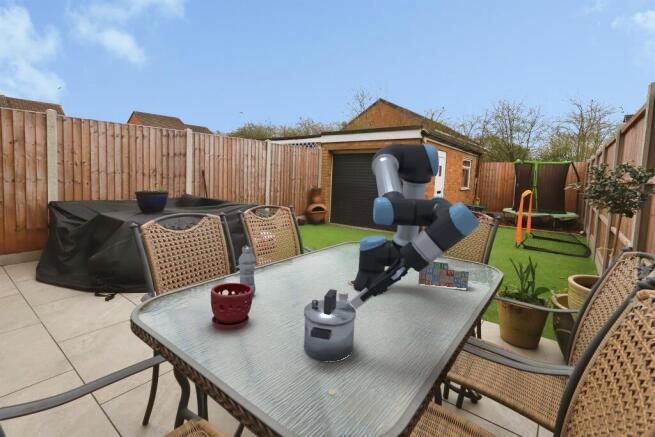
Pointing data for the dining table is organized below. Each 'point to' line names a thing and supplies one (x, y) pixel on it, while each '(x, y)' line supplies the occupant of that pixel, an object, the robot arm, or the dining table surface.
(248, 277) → the plastic bottle
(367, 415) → the dining table surface
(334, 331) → the pot
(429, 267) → the stack of blocks
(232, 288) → the plant pot
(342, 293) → the salt shaker
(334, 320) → the lid
